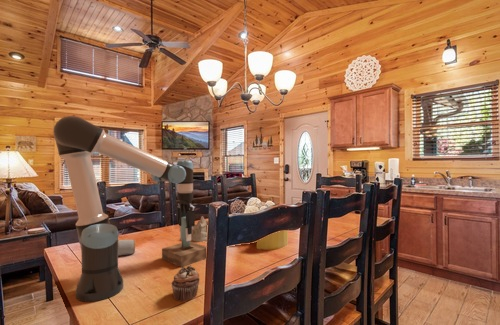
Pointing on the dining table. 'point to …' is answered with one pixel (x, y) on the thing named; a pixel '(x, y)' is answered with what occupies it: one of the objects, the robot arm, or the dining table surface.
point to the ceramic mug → (126, 247)
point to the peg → (184, 233)
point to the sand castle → (199, 231)
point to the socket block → (184, 254)
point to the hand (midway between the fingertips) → (185, 239)
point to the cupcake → (185, 284)
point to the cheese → (273, 241)
